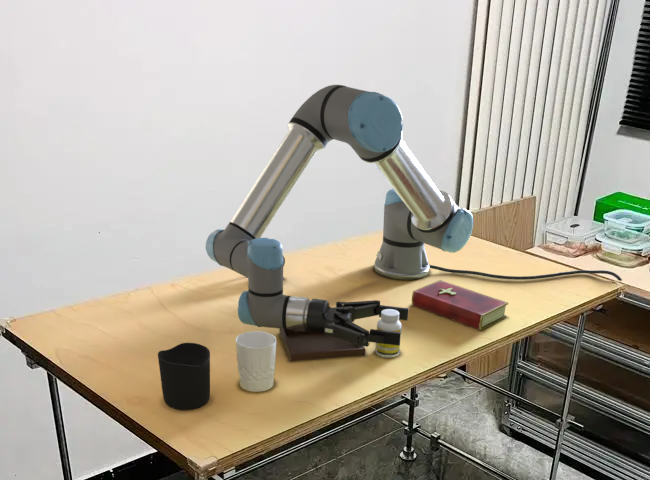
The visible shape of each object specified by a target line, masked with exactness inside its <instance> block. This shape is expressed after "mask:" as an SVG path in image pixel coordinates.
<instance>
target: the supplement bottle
mask: <svg viewBox="0 0 650 480" xmlns="http://www.w3.org/2000/svg"><path fill="white" fill-rule="evenodd" d="M376 330H383V331H392V332H401V333H402V323H401V320H399V312H398V311H397V310H393V309H385V310H382V311H381V318H380V319H379V320H378V321H377V324H376ZM374 349H375V350H374V351H375V354H376V355H378V356H379V357H382V358H395V357H397V356H399V355H400V351H401V350H400V349H401V345H400V346H399V345H390V344H382V343H375V348H374Z"/></svg>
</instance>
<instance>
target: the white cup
mask: <svg viewBox="0 0 650 480" xmlns="http://www.w3.org/2000/svg"><path fill="white" fill-rule="evenodd" d="M235 350H236V363H237V371H238V380H239V386H240V387H241V388H242V390H245V391H248V392H253V393H254V392H255V393H257V392H258V393H259V392H265V391H268V390H270V389H271V388H272V387H274V380H275V379H274V375H275V371H276V359H277V357H276V356H277V355H276V354H277V337H276V336H275V335H274V334H272V333H269V332H266V331H259V330H252V331H251V330H250V331H246V332H242V333H240V334H238V335H237V336H236V337H235Z"/></svg>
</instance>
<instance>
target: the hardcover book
mask: <svg viewBox="0 0 650 480" xmlns="http://www.w3.org/2000/svg"><path fill="white" fill-rule="evenodd" d="M508 305H509V302H507V301H504V300H502V299H499V298H496V297H495V298H494V297H493V296H489V295H486V294H483V293H480V292H478V291H475V290H472V289H468V288H465V287H462V286H460V285H457V284H454V283H452V282H451V283H450V282H448V281H445V280H443V279H442V280H441V279H439V280H437V281H434V282H432V283H428V284H426V285H424V286H421V287H419V288H416V289H414V290H413V291H412V294H411V306H413V307H416V308H419V309H421V310H424V311H427V312H429V313H432V314H435V315H437V316H440V317H443V318H446V319H449V320H451V321H454V322H457V323H460V324H463V325H465V326H468V327H471V328H474V329H476V330H479V331H483V330H485V329H487V328H488V327H491V326H492V325H494V324H496V323H499V322H500V321H503V320H504V319H505V318H507V315H505V314H506V306H508Z"/></svg>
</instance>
